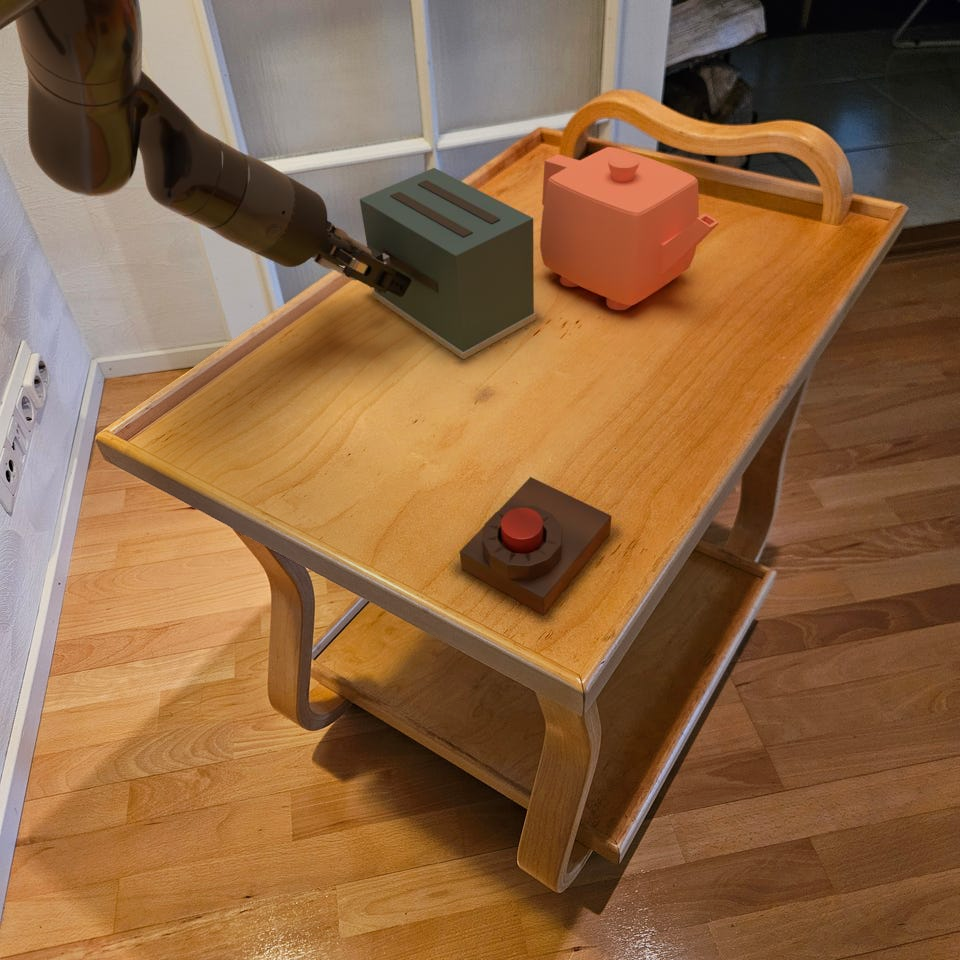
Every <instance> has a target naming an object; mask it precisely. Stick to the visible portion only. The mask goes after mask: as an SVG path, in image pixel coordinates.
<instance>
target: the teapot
mask: <svg viewBox="0 0 960 960" xmlns="http://www.w3.org/2000/svg"><path fill="white" fill-rule="evenodd" d="M542 183H543V185H542V199H541V203H542V204H541V205H542V206H543V208H542V215H541V224H540V235H539V236H540V238H539V240H540V241H539V249H540V254H541V259H542V262H543V265H544V266H545V267H546V268H548V269H549V270H551V271H552V272H554V273H556V274H558V275H559V276H561V277H560V278H559V283H560V284H561V285H562V286H564V287H568V288H575V287H576V288H577V287H581V288H583V289H585V290H588V291H590V292H592V293H595V294H597V295H599V296H601V297H604V298H606V301H605V305H606V306H607V308H609V309H611V310H615V311H625V310H628V309H629V308H631V307H632V306H634V305H636V304H638V303H639V302H641V301H643V300H644V299H647V298H648V297H649V296H651V295H653V294H654V293H656V292H657V291H659V290H660V289H662V288H663V287H665V286H666V285H667V284H669V283H671V282H672V281H673V280H675V279H677V278H678V277H679V276H680V275H682V274H683V273H685V272H686V271H687V270H688V269H689V268H690V267H691V265H692V262H693V260H694V257H695V255H696V251H697V246H698V245H699V244H701V242H702V241H703V240H704V239H705V238H706V237H707V236H708V235H709V234H710V233H711V232H712V231H713V230H714V229H715V228H716V227H717V226H718V225H719V223H720V221H718V220H717V219H715V218H714V217H712V216H710V215H709V214H707V213H706V212H704V213H703V214H701V215H700V201H699V199H700V197H699V196H700V195H699V180H698V179H697V177H695V176H694V175H692V174H691V173H688V172H685V171H683V170H681V169H679V168H676V167H674V166H671V165H668V164H666V163H663V162H661V161H658V160H655V159H652V158H651V157H647V156H645V155H641V154H637V153H634V152H631V151H628V150H625V149H622V148H617V147H613V146H606V147H604V148H602V149H600V150H599V151H596V152H594V153H592V154H591V155H588V156H586V157H584V158H582V159H580V160H579V159H576V158H572V157H569V156H567V155H562V154H560V153H558V154H556V155H553V156H551V157H549V158H547V159H545V160H544V168H543V181H542Z"/></svg>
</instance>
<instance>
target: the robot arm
mask: <svg viewBox="0 0 960 960" xmlns="http://www.w3.org/2000/svg"><path fill="white" fill-rule="evenodd" d="M140 4H141V3H140V0H0V31H1V30H3V29H4V28H6V27H8V26H9V25H11V24H12V23H13V22H15V25H16V30H17V35H18V39H19V44H20V48H21V52H22V56H23V59H24V63H25V66H26V70H27V71H26V72H27V81H28V82H27V84H28V85H27V89H28V90H27V137H28V138H27V139H28V145H29V149H30V153H31V155H32V157H33V160H34V161H35V163H36V165H37V166H38V168H39V169H40V170H41V171H42V172H43V174H44V175H45V176H47V177H48V178H49V179H50V180H51V181H52V182H53V183H55V184H56V185H58V186H59V187H61V188H62V189H65V190H67V191H69V192H71V193H73V194H77V195H81V196H86V197H103V196H104V197H105V196H109V195H112V194H114V193H117V192H119V191H120V190H122V189H123V188H124V187H126V186H127V185H128V184H129V183H130V181H131V180H132V178H133V176H134V174H135V170H136V166H137V159H138V154H139V153H140V155H141V161H142V166H143V167H142V168H143V173H144V174H143V175H144V181H145V185H146V189H147V191H148V193H149V195H150V197H151V198H152V200H154V202H156V203H157V204H158V205H161V206H162V207H163V208H165V209H168V210H169V211H171V212H173V213H175V214H178V215H179V216H182V217H184V218H186V219H188V220H190V221H193V222H195V223H196V224H199V225H201V226H203V227H205V228H207V229H209V230H211V231H212V232H214V233H216V234H217V235H219V236H220V237H222V238H223V239H225V240H227V241H229V242H230V243H232V244H235V245H238V246H239V247H241V248H244V249H245V250H248V251H250V252H253V253H254V254H257V255H259V256H261V257H263V258H265V259H267V260H269V261H272V262H274V263H276V264H278V265H280V266H283V267H286V268H293V267H294V268H295V267H298V266H301V265H303V264H305V263H306V262H308V261H309V260H310V259H313V262H315V264H318V265H319V266H322V267H324V269H327V270H331V269H332V270H334V271H335V272H338V273H340V274H341V275H343V276H345V277H347V278H349V279H351V280H352V281H358V282H360V283H362V284H364V285H366V284H367V285H366V286H368V285H369V286H371V287H372V289H374V288H375V289H377V291H379V292H381V293H382V292H383V293H386V291H389V292H391V293H393V294H395V295H397V296H399V297H402V296H404V294H405V293H406V291H407V289H408V287H409V285H410V283H411V279H410V278H409V277H407V276H406V275H404V274H402V273H400V272H398V271H397V270H395V268H393V267H392V266H389V265H388V263H386V262H385V261H384V262H382V261H380V260H378V259H377V258H375V257H373V256H372V252H371V250H370V249H369V248H368V247H367V245H364V244H363V243H361V242H359V241H357V240H355V239H354V238H352V237H350V236H349V235H348V233H347V232H346V231H345V230H344V229H342V228H340V227H338V226H337V225H335V224H334V223H332V222H331V221H330V220H328V210H327V205H326V203H325V201H324V199H323V198H322V196H321V195H320V194H318V192H316V191H314V190H313V189H311V188H310V187H307V186H305V185H304V184H302V183H301V182H299V181H297V180H295V179H293V178H292V177H290V176H289V175H287V174H285V173H283V172H282V171H280V170H278V169H277V168H275V167H273V166H271V165H270V164H268V163H266V162H264V161H262V160H261V159H258V158H256V157H254V156H251V155H248V154H245V153H243V152H242V151H239V150H238V149H237V148H234V147H233V146H230V144H227V143H225V142H224V141H222V140H220V139H219V138H217V137H215V136H214V135H212V134H210V133H209V132H206V131H205V130H203V129H202V128H201V127H199V125H197V123H196V122H194V120H192V119H191V118H190V116H189V115H188V114H187V113H186V112H185V111H183V109H181V107H180V106H178V105H177V104H176V103H175V102H174V101H173V99H172V98H170V96H168V94H166V93H165V92H164V91H163V90H162V89H161V88H160V87H159V85H158V84H156V83H155V82H154V80H153V79H152V78H151V77H149V75H147V74H146V73H145V72H144V71H143V24H142V23H143V22H142V21H143V20H142V12H141V5H140ZM138 152H139V153H138ZM369 286H368V287H369ZM371 287H370V288H371Z"/></svg>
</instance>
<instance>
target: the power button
mask: <svg viewBox="0 0 960 960" xmlns="http://www.w3.org/2000/svg"><path fill="white" fill-rule="evenodd" d="M501 536H502V542H503V544H504V546H505V547H506V548H507V549H508V550H510V551H512V552H515V553H530V552H532V551H534V550H536V549H537V548H538V547H539V546H540V545H541V543H542V541H543V520H542V518H541V516H540V515H539V514H538V513H537V512H536V511H534V510H532V509H528V508H516V509H513V510H510V511H509V512H507V513H506V514H505V515H504V516H503V518H502V520H501Z"/></svg>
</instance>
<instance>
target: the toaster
mask: <svg viewBox="0 0 960 960" xmlns="http://www.w3.org/2000/svg"><path fill="white" fill-rule="evenodd" d="M359 204H360V205H359V206H360V211H361V216H362V222H363V223H362V224H363V230H364V235H365V242H366V247H367V246H371V247H373V248H374V249H376V250H377V251H379V252H380V253H382V254H383V253H385V254H386V255H388V256H389V257H390V264H391V265H389V266H392V267H393V268H395V270H397V271H398V272H400V273H402V274H404V275H406V276H407V277H409V278H410V279H411V283H410V285H409V287H408V289H407V291H406V293H405V294H404V296H402V297H399V296H397V295H395V294H393V293H391V292H389V291H386V293H383V292H382V293H381V292H379V291H377V289H375V288H373V290H372V291H371V292H372V297H373V298H374V299H376V300H377V301H378V302H379V303H381V304H382V305H384V306H385V307H386V308H388V309H389V310H391V311H392V312H394V313H396V314H397V315H398V316H400V317H401V318H403V319H404V320H405V321H407V322H409V323H410V324H412V325H413V326H414V327H415V328H417V329H419V330H420V332H421V331H422V332H423V333H424V334H426V335H427V336H428V337H430V338H432V339H433V340H434V341H435V342H437V343H439V344H440V345H441V346H442V347H444V348H445V349H447V350H449V351H450V352H452V353H453V354H454V355H456V356H457V357H459V358H460V359H461V360H466V359H467V358H470V357H471V356H473V355H475V354H477V353H479V352H480V351H482V350H485V348H487V347H489V346H491V345H493V344H495V343H497V342H498V341H500V340H502V339H504V338H505V337H507V336H509V335H511V334H512V333H514V332H517V331H518V330H520V329H522V328H523V327H525V326H527V325H528V324H531V323H532V322H534V321H535V320H537V312H535V307H534V305H535V301H534V299H535V293H534V289H535V288H534V287H535V286H534V285H535V284H534V283H535V282H534V281H535V279H534V277H535V275H534V267H535V266H534V265H535V264H534V261H535V260H534V217H532V216H530V215H528V214H526V213H524V212H522V211H520V210H519V209H516V208H515V207H512V206H511V205H509V204H507V203H505V202H504V201H503V202H502V201H501V200H498V199H497V198H494V197H492V196H491V195H490V194H489V195H488V194H487V193H484V192H483V191H481V190H479V189H477V188H475V187H473V186H471V185H469V184H467V183H466V182H463V181H462V180H459V179H457V178H456V177H453V176H452V175H450V174H447V173H445V172H443V171H441V170H440V169H437V168H436V167H431V168H430V169H428V170H425V171H423V172H420V173H418V174H415V175H413V176H411V177H409V178H406V179H404V180H402V181H399V182H396V183H394V184H391V185H389V186H388V187H387V186H386V187H385V188H382V189H380V190H377V191H375V192H373V193H370V194H368V195H366V196H363V197H361V198H359Z"/></svg>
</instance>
